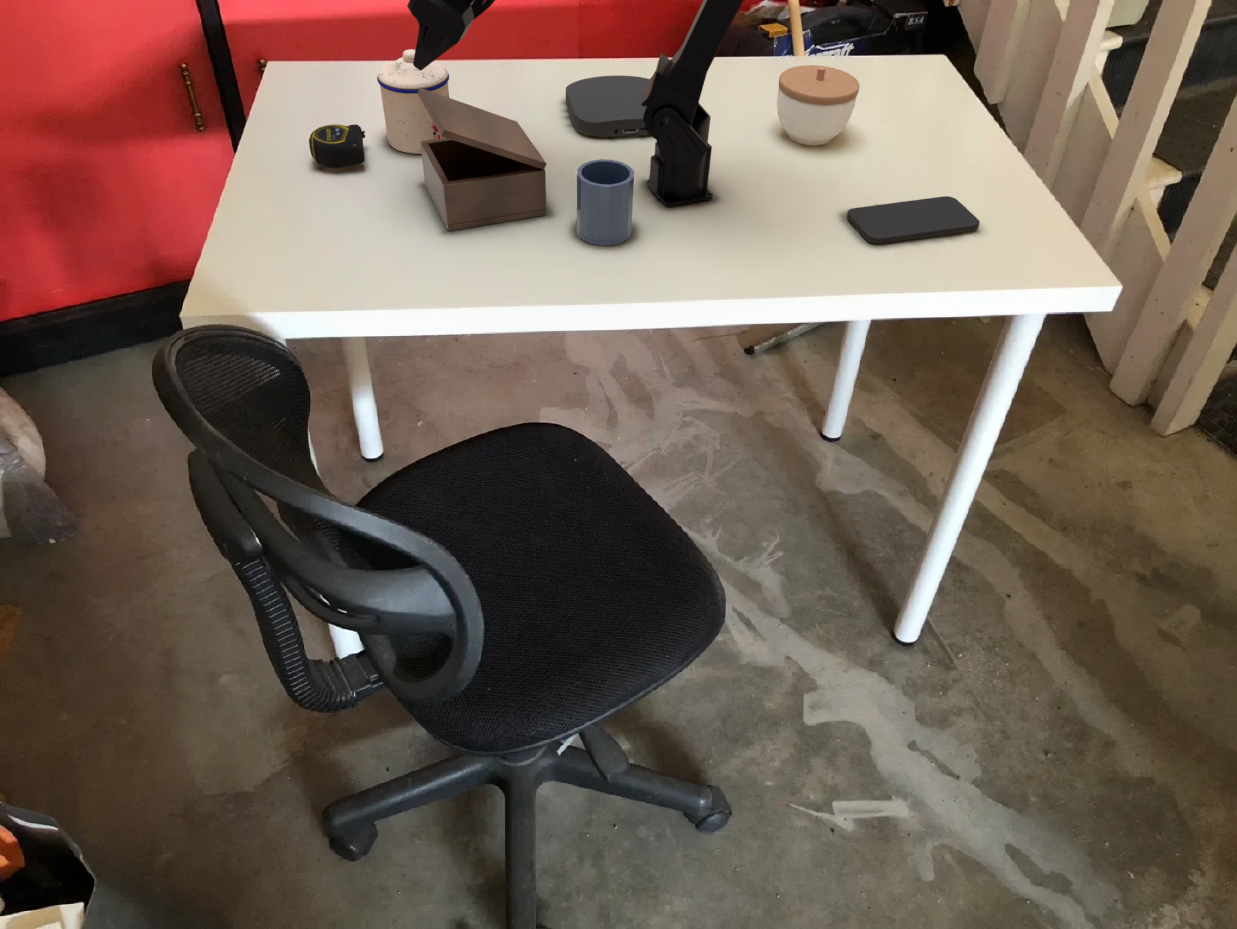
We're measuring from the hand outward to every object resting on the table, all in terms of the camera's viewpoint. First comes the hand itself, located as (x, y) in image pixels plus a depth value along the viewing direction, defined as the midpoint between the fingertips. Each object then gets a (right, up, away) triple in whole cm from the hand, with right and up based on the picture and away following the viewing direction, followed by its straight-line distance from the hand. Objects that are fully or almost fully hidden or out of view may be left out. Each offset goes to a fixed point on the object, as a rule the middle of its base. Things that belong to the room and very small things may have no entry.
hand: (430, 53), depth 110 cm
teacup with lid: (-4, -4, +17) cm, 18 cm away
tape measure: (-13, -9, +11) cm, 20 cm away
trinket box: (+49, -2, +21) cm, 53 cm away
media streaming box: (+22, +2, +24) cm, 33 cm away
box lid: (+6, -9, -1) cm, 11 cm away
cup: (+20, -21, +1) cm, 29 cm away
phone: (+58, -19, +5) cm, 61 cm away
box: (+6, -16, +5) cm, 18 cm away
